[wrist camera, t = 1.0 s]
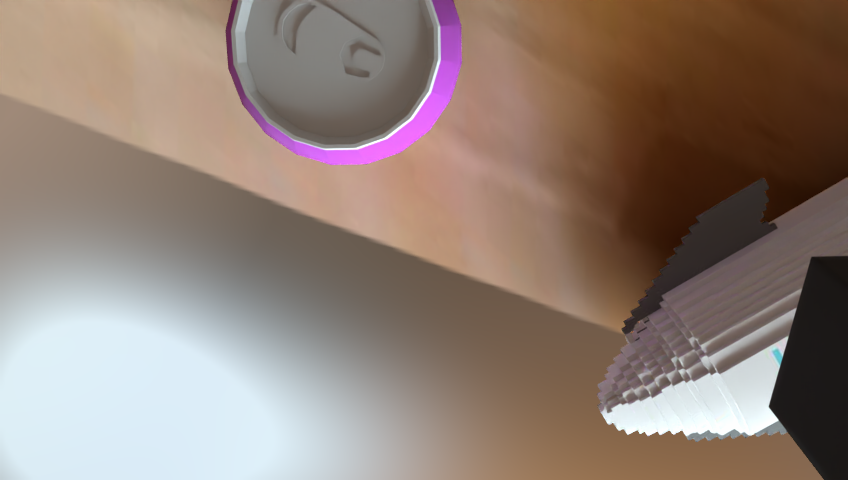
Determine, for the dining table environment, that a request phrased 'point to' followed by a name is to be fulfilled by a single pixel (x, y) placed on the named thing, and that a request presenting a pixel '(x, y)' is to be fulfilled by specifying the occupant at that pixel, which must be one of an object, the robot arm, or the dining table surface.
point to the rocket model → (721, 319)
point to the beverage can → (344, 72)
